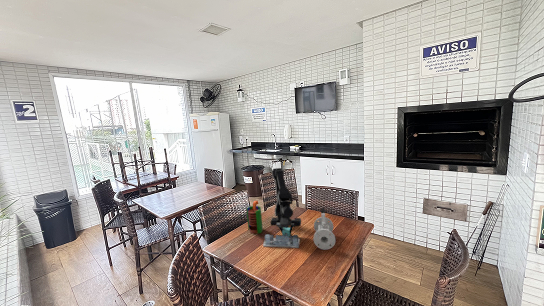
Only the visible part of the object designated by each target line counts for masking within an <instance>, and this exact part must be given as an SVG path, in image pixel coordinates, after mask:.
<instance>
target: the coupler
mask: <svg viewBox="0 0 544 306" xmlns="http://www.w3.org/2000/svg"><path fill="white" fill-rule="evenodd" d="M282 234H283V235H287V236H291V235H290V227H288V228H283V230H282V232H281V235H282Z"/></svg>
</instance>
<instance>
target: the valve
mask: <svg viewBox="0 0 544 306" xmlns="http://www.w3.org/2000/svg"><path fill="white" fill-rule="evenodd" d="M320 212H321V213H320V214H321V216H320V217H317V218H316V219H315V220H314V223H313V229H314V231H315V232H314V234H313V243H314V245H315V246H316V247H317V248H319V249H320V250H325V251H326V250H330V249H332V248H333V247H334V246H335V244H336V235H335V234H334V233H333V231H334V223H333V221H332V220H331V218H329V217H326V210H325V208H320Z"/></svg>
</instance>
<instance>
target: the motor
mask: <svg viewBox="0 0 544 306" xmlns="http://www.w3.org/2000/svg"><path fill="white" fill-rule="evenodd" d="M246 217H247V228H248V231H249V233H250V234H258V235H259V234H261V233H262V232H263V218H262V208H261V206H259V201H258V200H254V201H253V203H252V205H251V206H248V207H246Z"/></svg>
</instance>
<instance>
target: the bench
mask: <svg viewBox="0 0 544 306" xmlns="http://www.w3.org/2000/svg"><path fill="white" fill-rule="evenodd" d="M300 241H301V239H300V238H299V235H298V234H293V235H290V236H287V235H282V234H280V235H279V234H276V235H275V237H274V234H265V235H264V241H263V244H262V246H263V247H272V248H289V249H290V248H291V249H292V248H293V249H299V248H300Z"/></svg>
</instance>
